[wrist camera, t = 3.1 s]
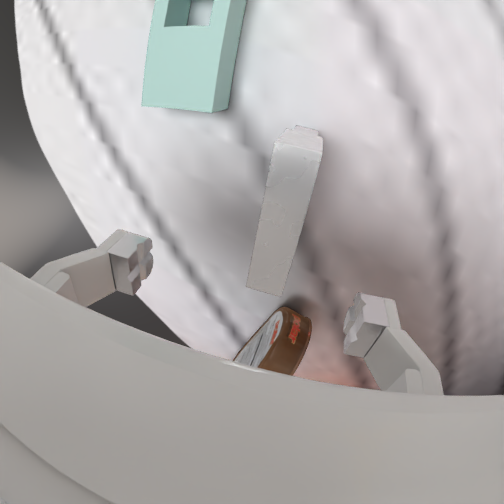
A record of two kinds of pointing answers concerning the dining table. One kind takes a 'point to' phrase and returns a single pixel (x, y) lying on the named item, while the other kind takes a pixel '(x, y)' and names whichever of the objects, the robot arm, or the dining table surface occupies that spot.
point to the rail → (191, 56)
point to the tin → (278, 343)
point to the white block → (284, 207)
